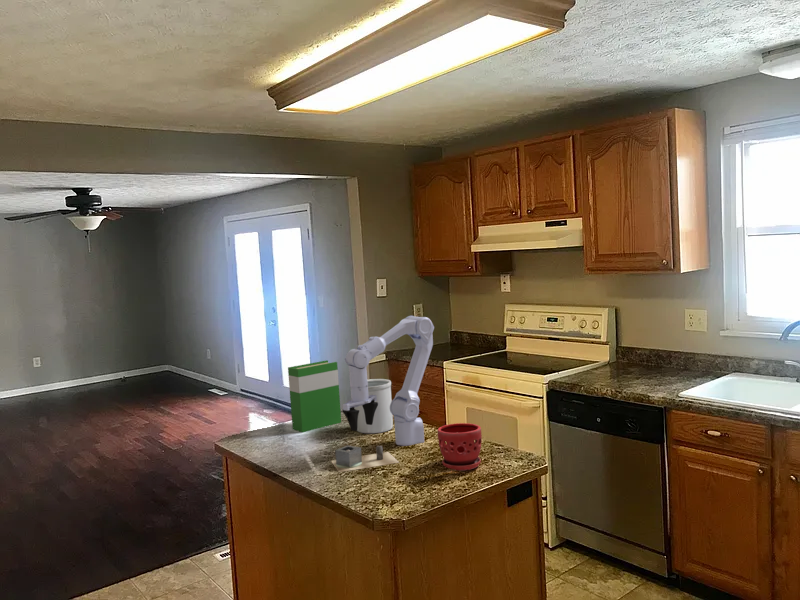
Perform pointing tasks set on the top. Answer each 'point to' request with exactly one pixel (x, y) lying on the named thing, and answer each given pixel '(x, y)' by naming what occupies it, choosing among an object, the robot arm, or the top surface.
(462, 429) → the plant pot
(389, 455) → the board
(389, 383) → the utensil holder
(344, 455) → the steel collar
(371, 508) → the top surface
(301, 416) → the hardback book
